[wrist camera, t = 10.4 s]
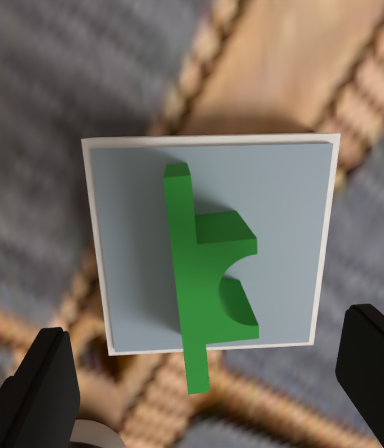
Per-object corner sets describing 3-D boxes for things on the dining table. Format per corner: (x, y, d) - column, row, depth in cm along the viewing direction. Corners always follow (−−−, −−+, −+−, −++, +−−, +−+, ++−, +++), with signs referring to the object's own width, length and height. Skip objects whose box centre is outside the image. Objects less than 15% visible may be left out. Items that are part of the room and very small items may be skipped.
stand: (117, 327, 23) (108, 358, 20) (95, 137, 19) (79, 139, 15) (296, 318, 23) (315, 347, 20) (316, 132, 19) (343, 133, 16)
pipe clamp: (241, 329, 20) (260, 387, 15) (185, 335, 20) (188, 395, 15) (234, 157, 16) (256, 169, 12) (165, 163, 16) (162, 178, 12)
